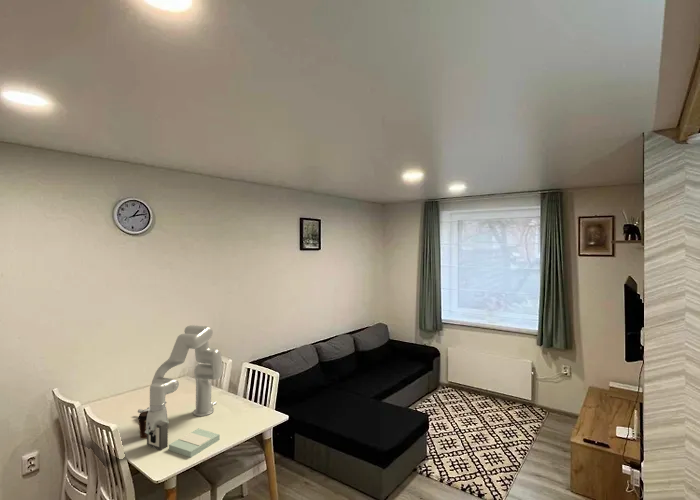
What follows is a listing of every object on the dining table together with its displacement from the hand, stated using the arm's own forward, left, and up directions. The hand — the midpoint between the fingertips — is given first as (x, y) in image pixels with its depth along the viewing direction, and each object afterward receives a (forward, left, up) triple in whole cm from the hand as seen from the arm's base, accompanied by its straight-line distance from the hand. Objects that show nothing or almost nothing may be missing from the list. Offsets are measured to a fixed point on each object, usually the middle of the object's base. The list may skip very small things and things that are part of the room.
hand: (157, 440), depth 205 cm
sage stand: (-10, +17, -3) cm, 20 cm away
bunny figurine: (-20, -35, -4) cm, 41 cm away
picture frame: (0, 0, -3) cm, 3 cm away
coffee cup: (-5, -15, -4) cm, 16 cm away
